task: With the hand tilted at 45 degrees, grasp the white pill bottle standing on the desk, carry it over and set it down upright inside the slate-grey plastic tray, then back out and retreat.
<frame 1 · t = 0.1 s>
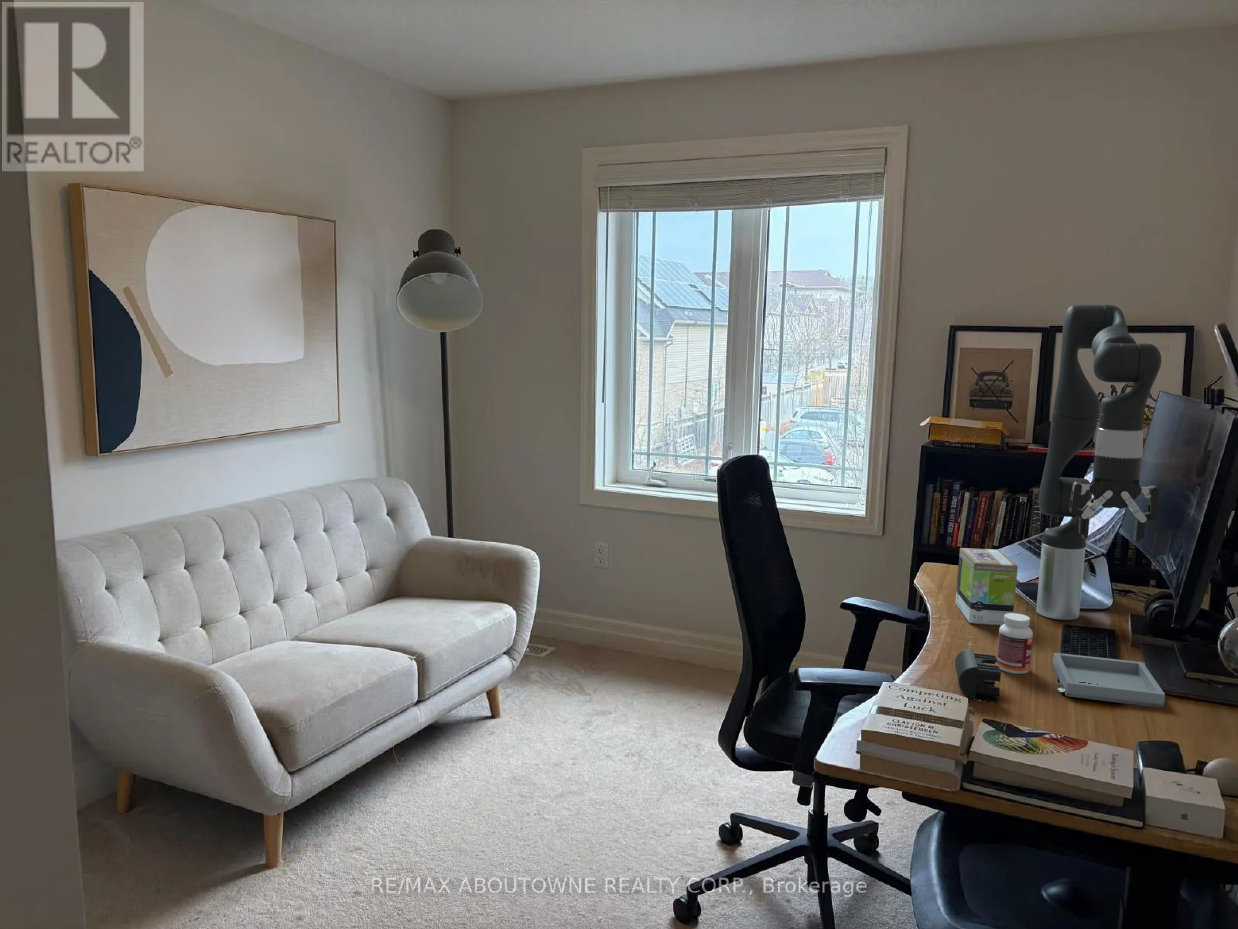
hand: (1110, 539, 162), 29 cm above the table, tool pointing down, fingers open, 8 cm apart
tea box: (983, 615, 208), on the table
pill bottle: (1012, 670, 176), on the table
tray: (1104, 685, 168), on the table
end cap: (975, 692, 165), on the table
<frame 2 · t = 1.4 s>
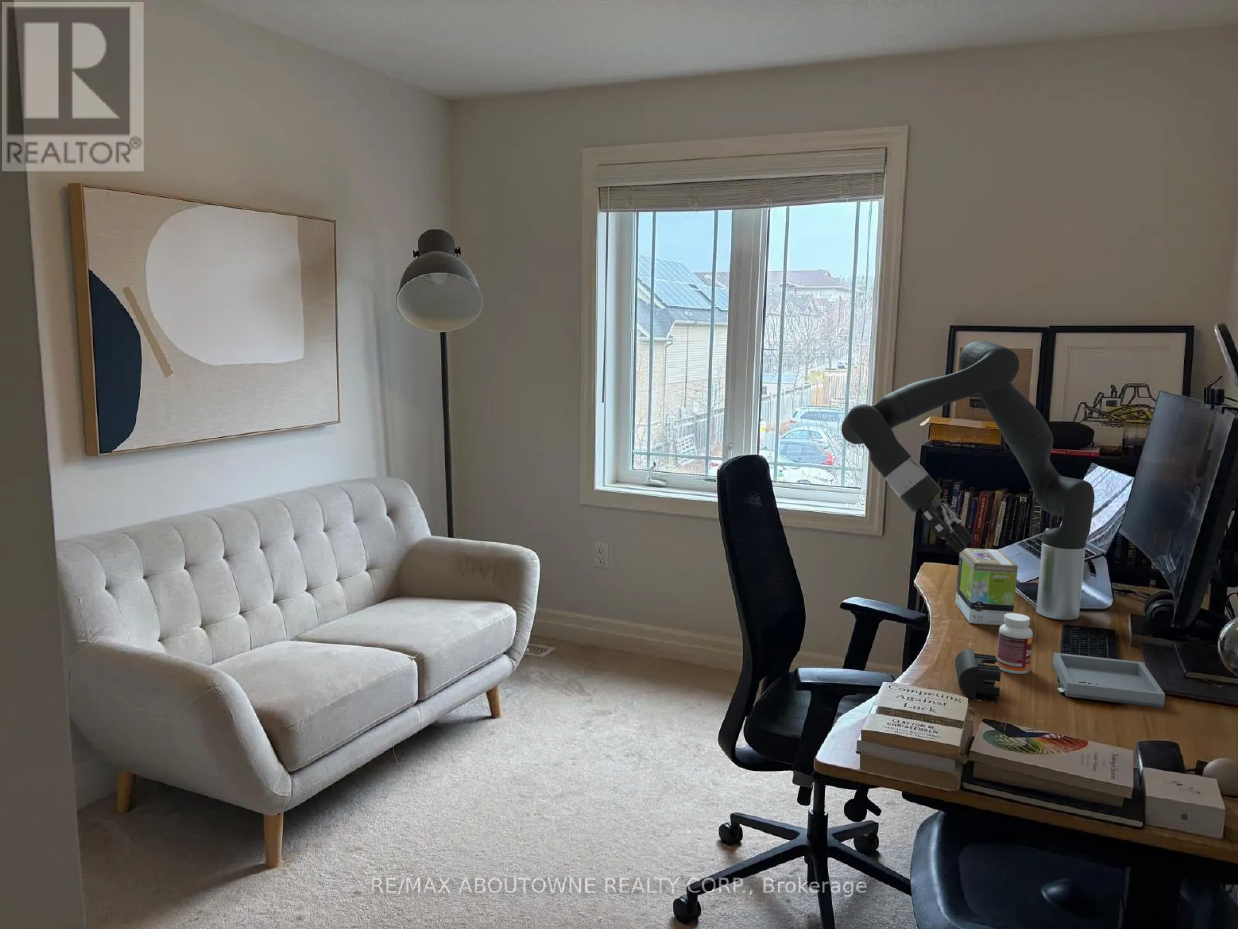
hand: (966, 546, 177), 24 cm above the table, tool tilted 45°, fingers open, 8 cm apart
nothing on the table moved.
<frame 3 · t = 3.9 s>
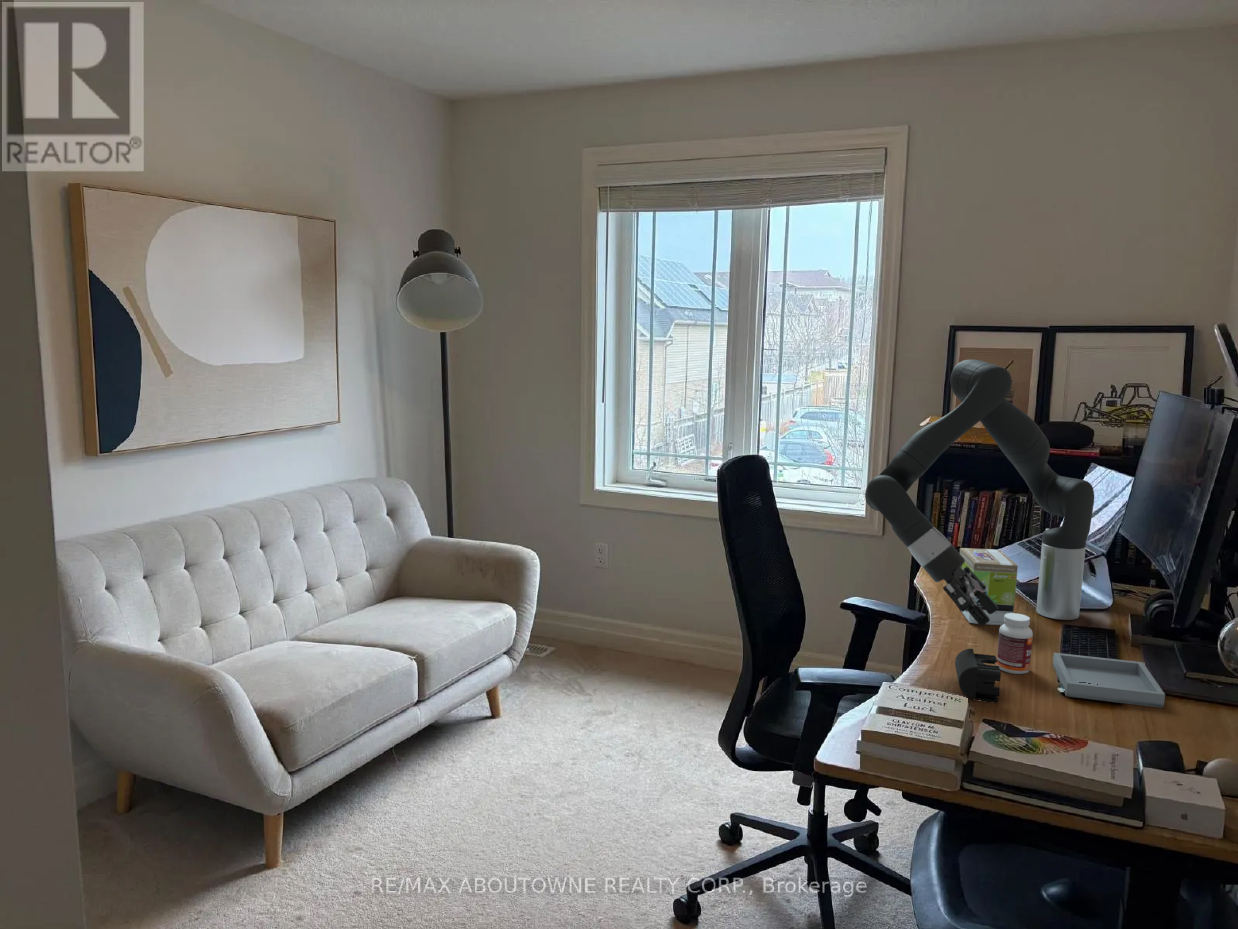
hand: (990, 617, 177), 10 cm above the table, tool tilted 45°, fingers open, 8 cm apart
nothing on the table moved.
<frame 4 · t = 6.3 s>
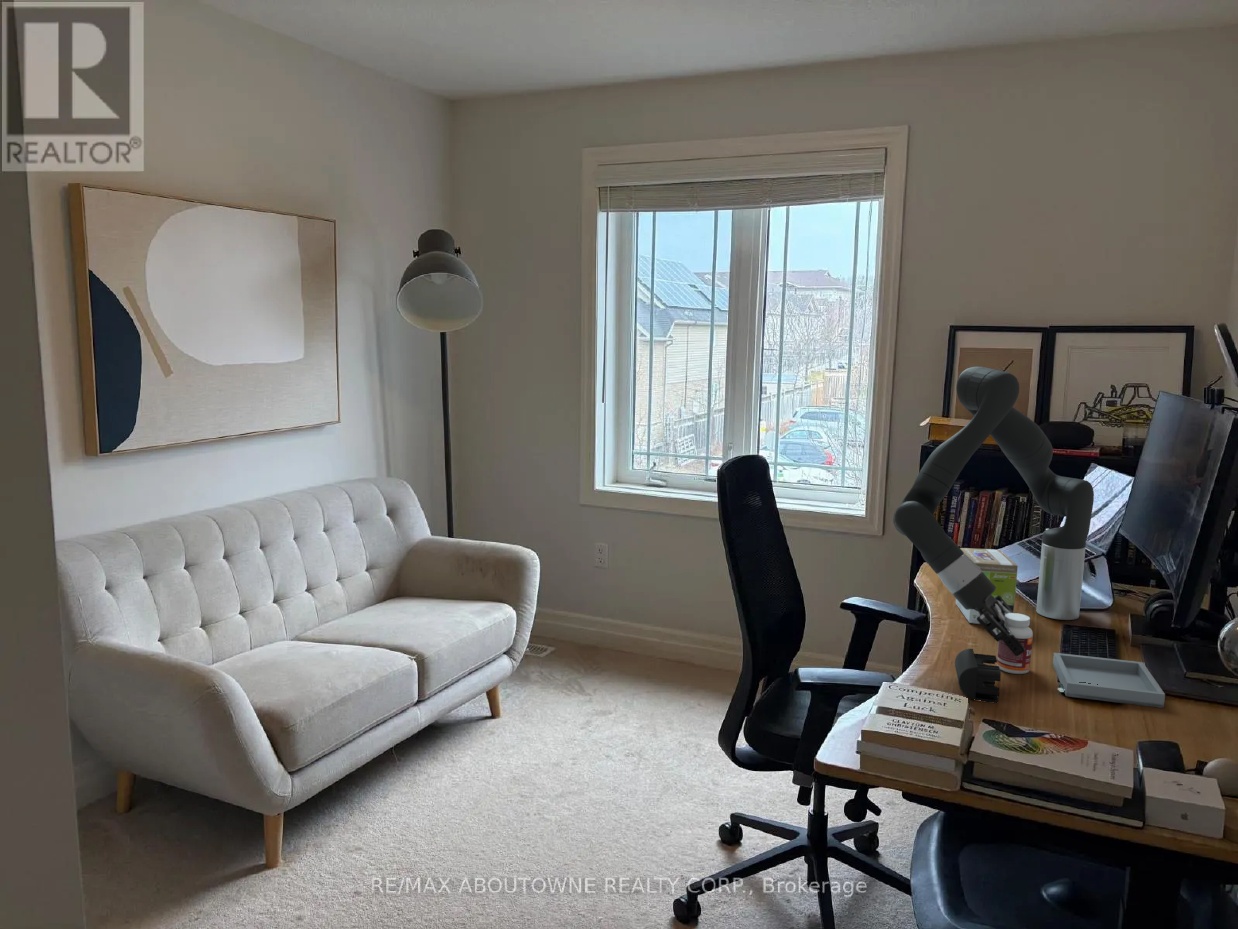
hand: (1023, 647, 174), 5 cm above the table, tool tilted 45°, fingers closed on pill bottle, 6 cm apart
pill bottle: (1012, 670, 176), on the table, touching gripper
everything else where it was.
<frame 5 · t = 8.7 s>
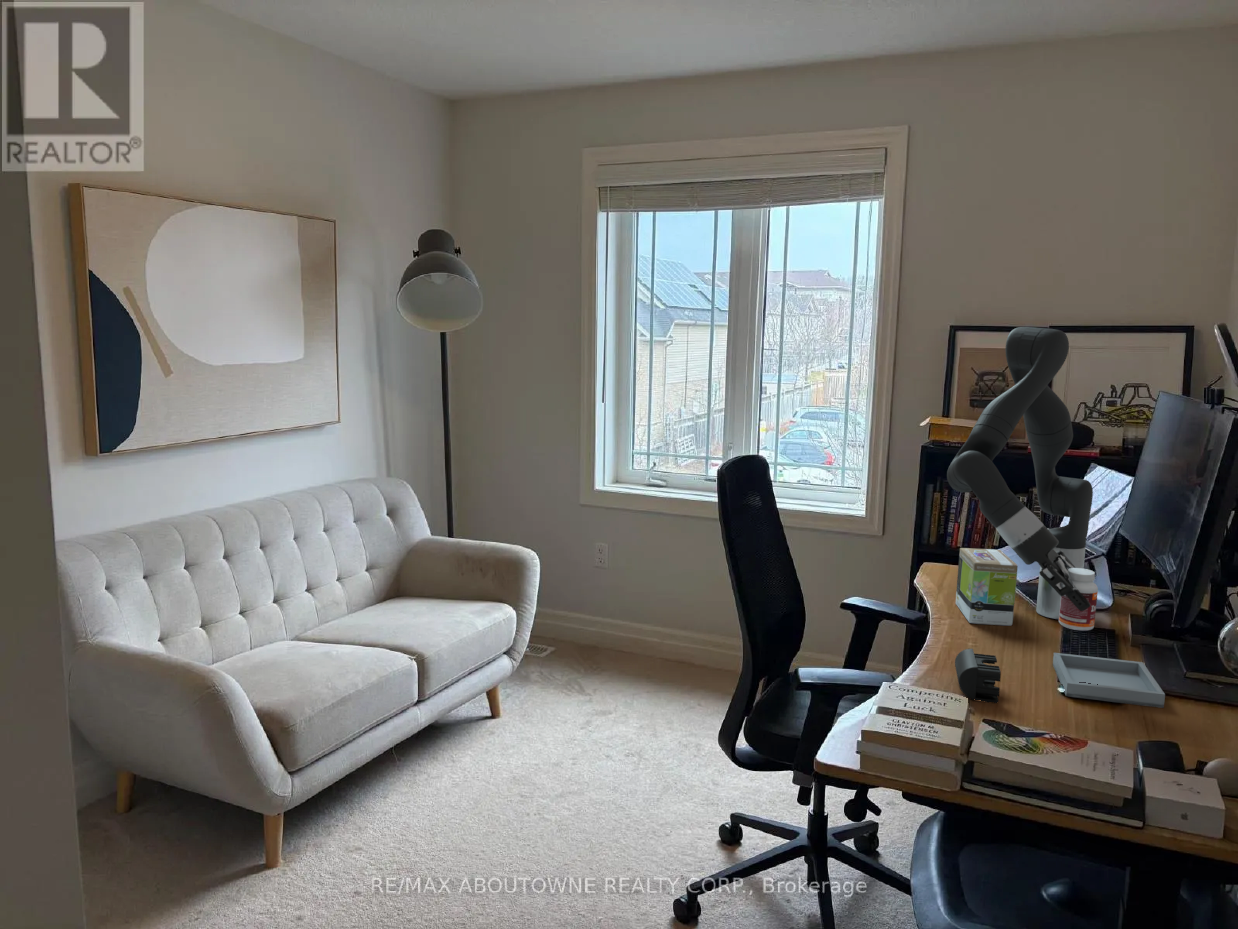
hand: (1088, 603, 167), 16 cm above the table, tool tilted 45°, fingers closed on pill bottle, 6 cm apart
pill bottle: (1076, 626, 169), point 11 cm above the table, touching gripper
everything else where it was.
when the fingers open (7 cm above the table, at t = 11.4 s): pill bottle drops 1 cm, resting on tray.
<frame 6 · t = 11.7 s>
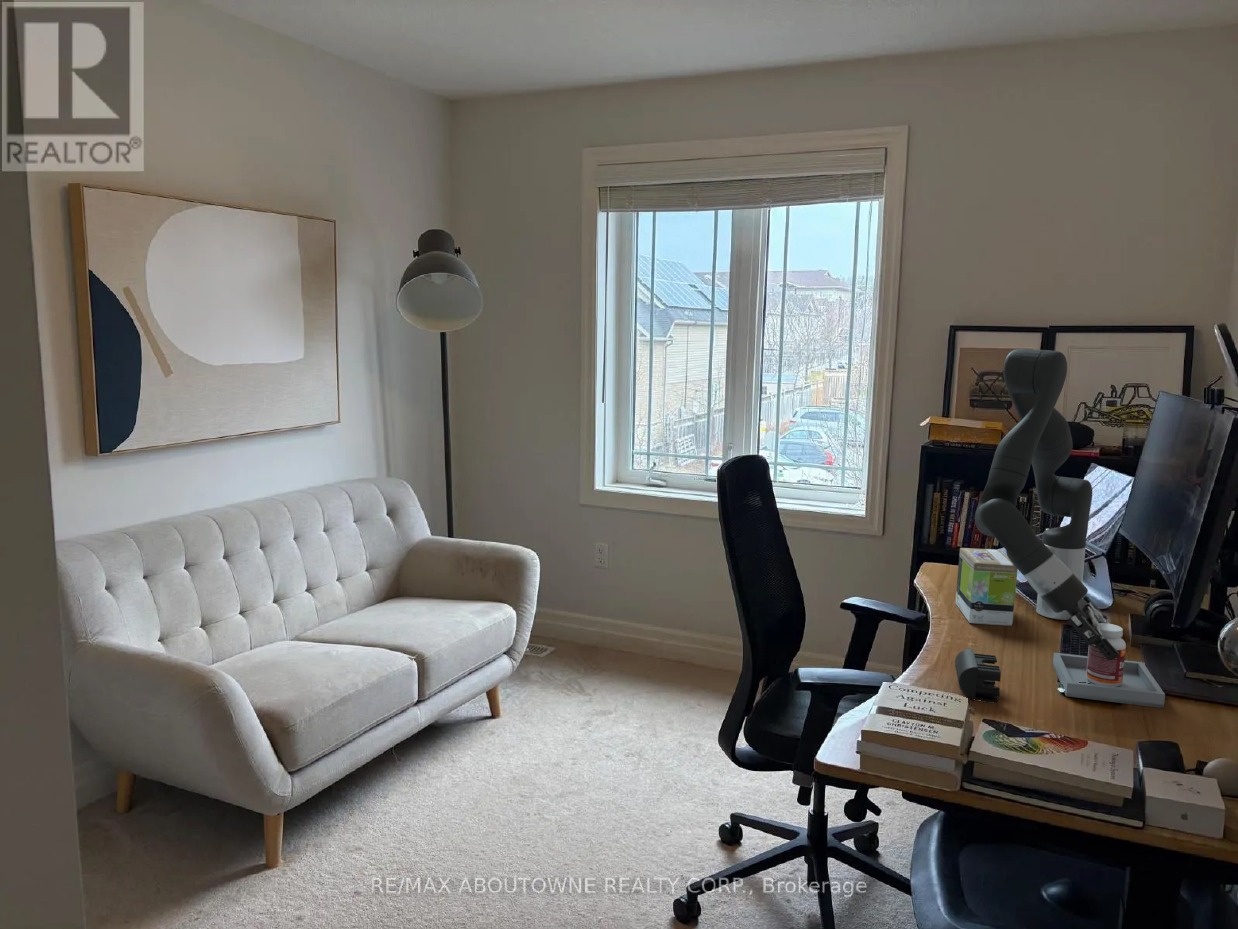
hand: (1116, 650, 166), 7 cm above the table, tool tilted 45°, fingers open, 8 cm apart
pill bottle: (1103, 682, 168), resting on tray
everything else where it was.
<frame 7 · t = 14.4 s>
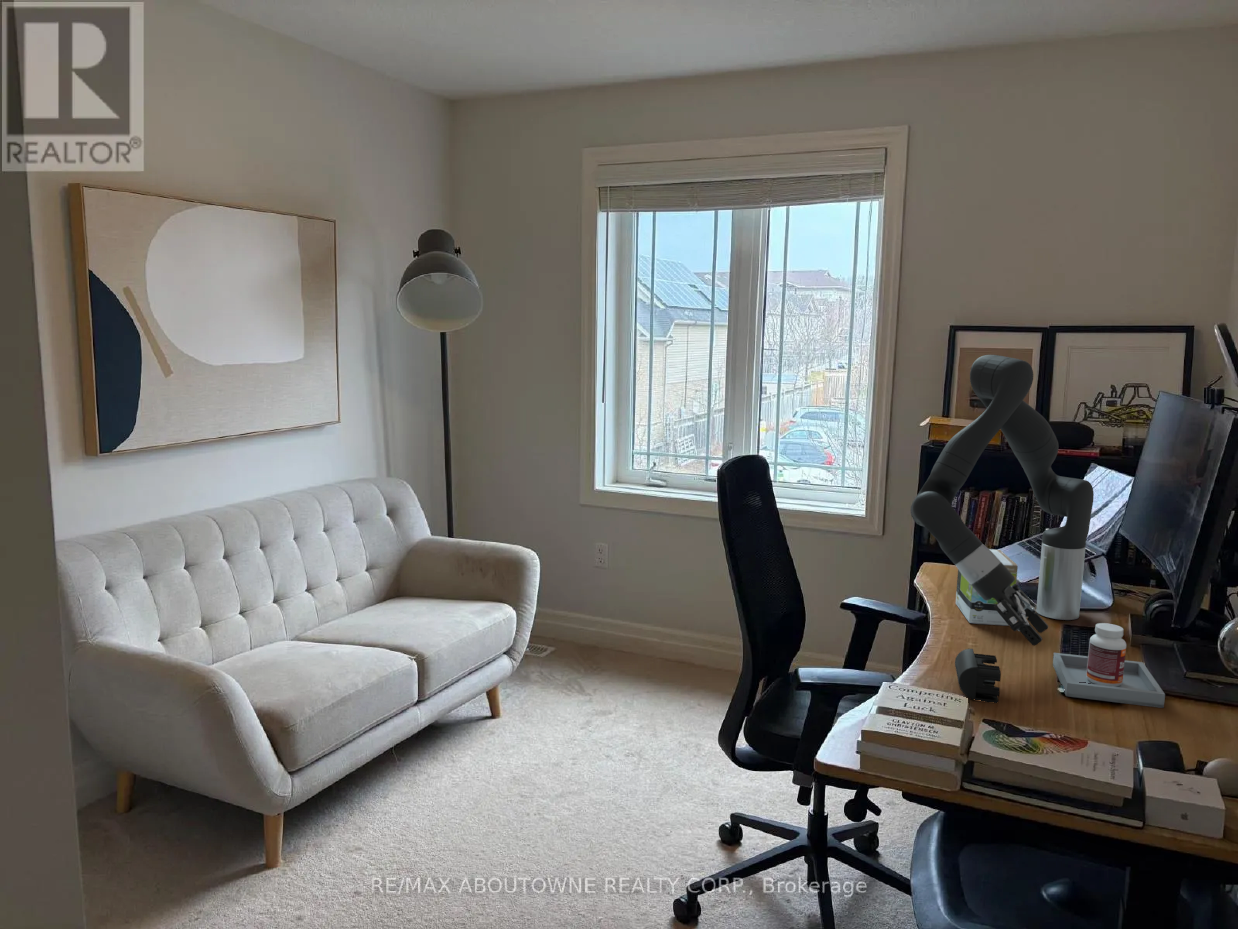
hand: (1041, 636, 173), 7 cm above the table, tool tilted 45°, fingers open, 8 cm apart
nothing on the table moved.
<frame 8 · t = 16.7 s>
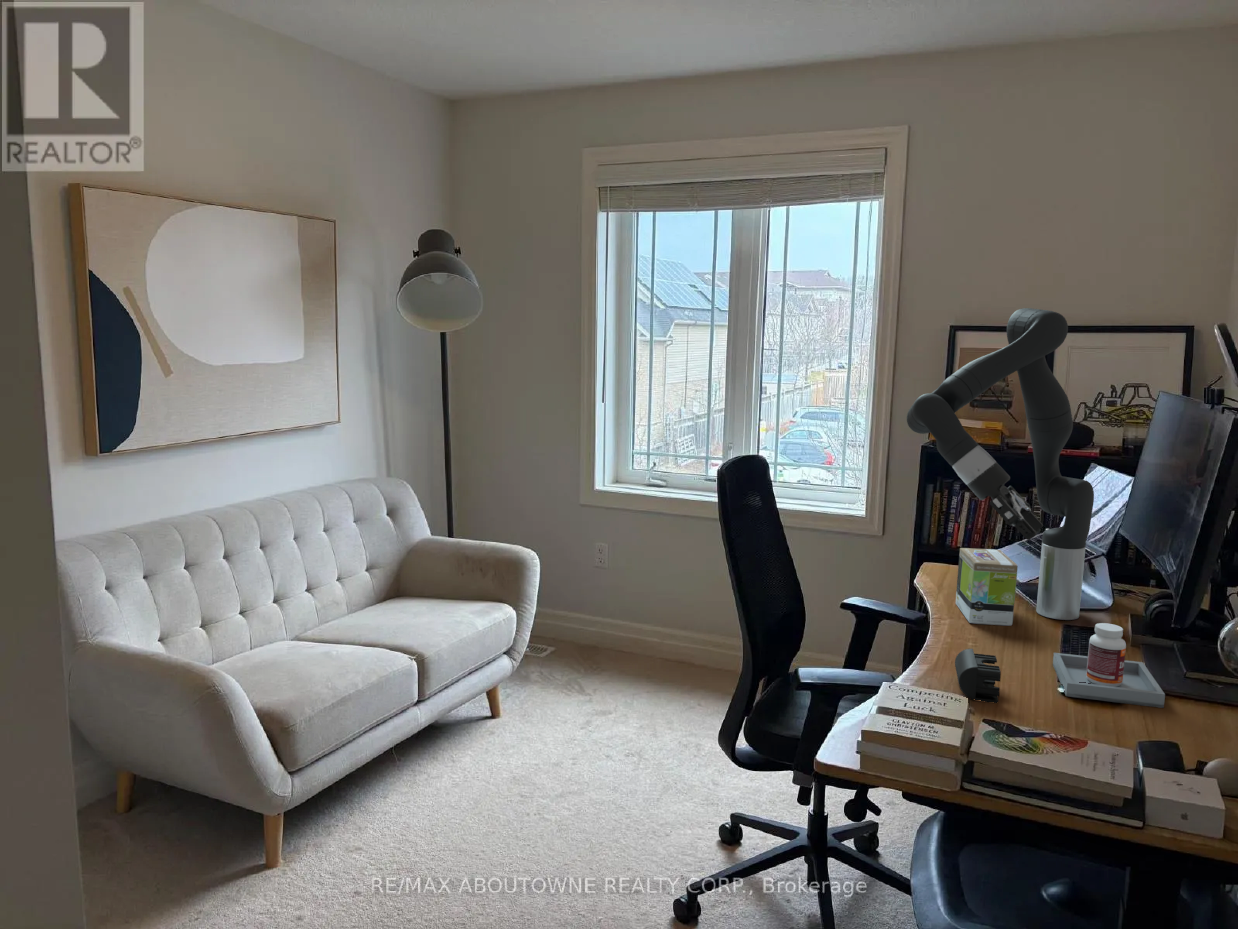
hand: (1036, 533, 178), 27 cm above the table, tool tilted 45°, fingers open, 8 cm apart
nothing on the table moved.
at the end: pill bottle inside the target area on the tray (0.3 cm from its centre), point 0.4 cm above the tray's base; pill bottle tilted 0°; the gripper is holding nothing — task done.
